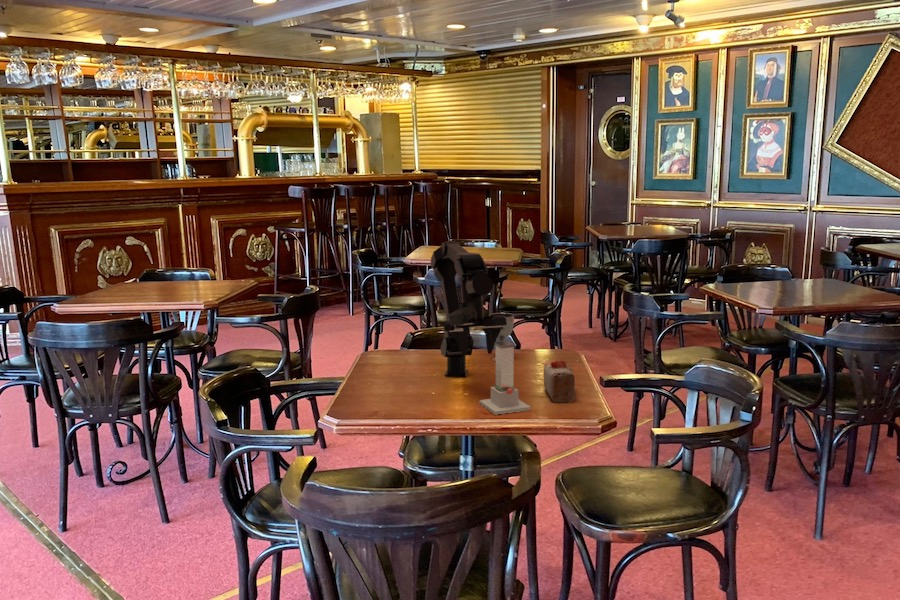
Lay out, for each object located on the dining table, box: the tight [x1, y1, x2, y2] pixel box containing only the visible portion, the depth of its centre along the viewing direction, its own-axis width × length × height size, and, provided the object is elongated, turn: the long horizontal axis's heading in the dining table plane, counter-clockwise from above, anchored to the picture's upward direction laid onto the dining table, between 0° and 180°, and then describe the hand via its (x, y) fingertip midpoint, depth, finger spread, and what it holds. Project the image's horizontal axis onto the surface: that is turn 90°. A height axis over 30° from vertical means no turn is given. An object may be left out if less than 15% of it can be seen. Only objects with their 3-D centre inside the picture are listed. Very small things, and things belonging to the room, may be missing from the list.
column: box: [494, 340, 516, 392], centre depth 187 cm, size 4×4×12 cm
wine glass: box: [489, 312, 515, 361], centre depth 236 cm, size 8×8×15 cm
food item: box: [543, 360, 576, 404], centre depth 198 cm, size 14×8×10 cm, turn 3°
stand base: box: [478, 386, 531, 416], centre depth 188 cm, size 10×10×6 cm
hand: (476, 354), depth 199 cm, fingers open, 9 cm apart
